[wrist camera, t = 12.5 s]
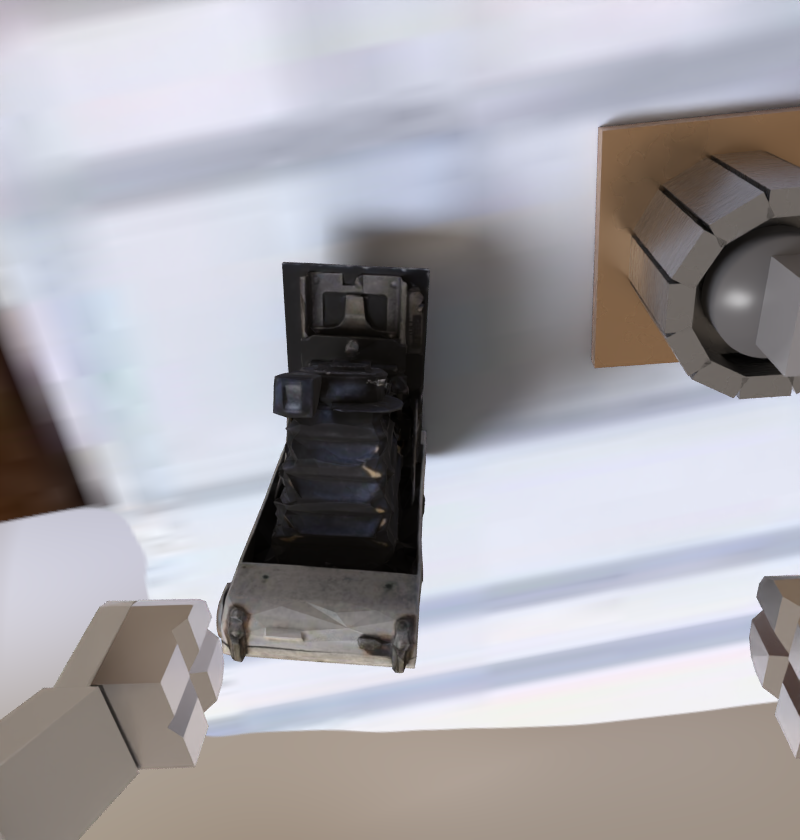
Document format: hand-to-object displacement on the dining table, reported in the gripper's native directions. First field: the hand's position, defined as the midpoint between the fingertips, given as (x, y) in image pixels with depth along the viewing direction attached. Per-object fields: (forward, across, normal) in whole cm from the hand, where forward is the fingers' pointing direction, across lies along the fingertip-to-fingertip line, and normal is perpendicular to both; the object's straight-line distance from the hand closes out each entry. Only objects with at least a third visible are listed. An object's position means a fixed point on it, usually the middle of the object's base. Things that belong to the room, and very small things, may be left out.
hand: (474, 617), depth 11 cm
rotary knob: (+27, -15, +6) cm, 31 cm away
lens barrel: (+34, -15, +6) cm, 38 cm away
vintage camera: (+34, +7, +12) cm, 37 cm away
